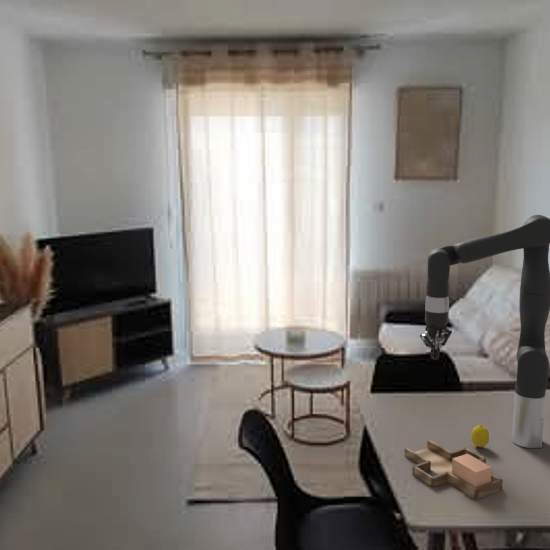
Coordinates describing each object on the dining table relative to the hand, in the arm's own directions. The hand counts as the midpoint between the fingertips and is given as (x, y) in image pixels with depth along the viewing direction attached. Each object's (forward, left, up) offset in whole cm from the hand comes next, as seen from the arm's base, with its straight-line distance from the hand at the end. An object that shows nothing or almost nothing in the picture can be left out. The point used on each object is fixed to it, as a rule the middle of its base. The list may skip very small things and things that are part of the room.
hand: (435, 358), depth 200 cm
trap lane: (-9, +24, -27) cm, 37 cm away
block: (-16, +30, -27) cm, 43 cm away
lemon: (-16, +5, -27) cm, 32 cm away
